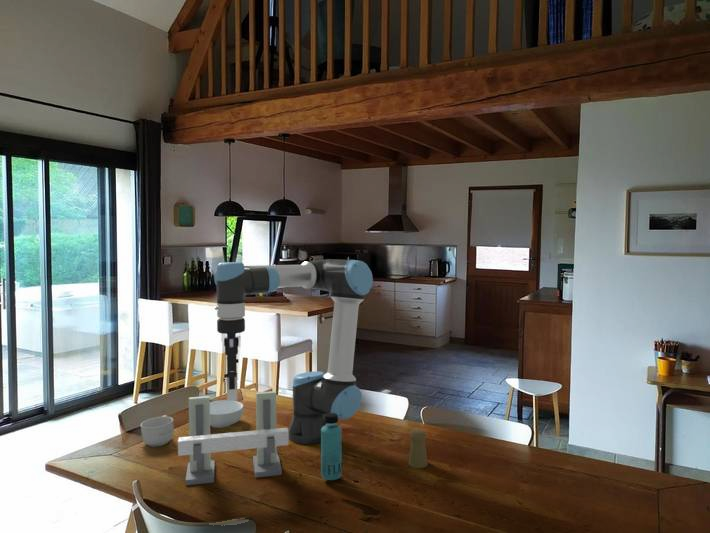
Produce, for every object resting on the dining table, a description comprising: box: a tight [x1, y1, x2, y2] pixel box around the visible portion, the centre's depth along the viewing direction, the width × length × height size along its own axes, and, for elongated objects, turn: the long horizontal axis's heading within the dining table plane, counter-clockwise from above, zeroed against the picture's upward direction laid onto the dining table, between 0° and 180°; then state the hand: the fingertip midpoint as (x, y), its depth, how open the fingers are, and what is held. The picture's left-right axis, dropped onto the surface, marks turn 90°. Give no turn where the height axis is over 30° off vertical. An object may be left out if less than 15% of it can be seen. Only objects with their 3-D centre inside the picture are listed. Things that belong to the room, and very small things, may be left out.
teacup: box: [139, 414, 175, 448], centre depth 184 cm, size 14×11×8 cm
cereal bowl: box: [210, 399, 244, 429], centre depth 201 cm, size 17×17×7 cm
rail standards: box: [185, 390, 283, 486], centre depth 156 cm, size 28×23×24 cm
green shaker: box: [408, 428, 428, 469], centre depth 166 cm, size 6×6×11 cm
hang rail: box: [177, 427, 289, 457], centre depth 147 cm, size 30×3×4 cm, turn 104°
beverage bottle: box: [320, 413, 343, 481], centre depth 155 cm, size 6×7×20 cm
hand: (232, 393), depth 146 cm, fingers open, 13 cm apart
